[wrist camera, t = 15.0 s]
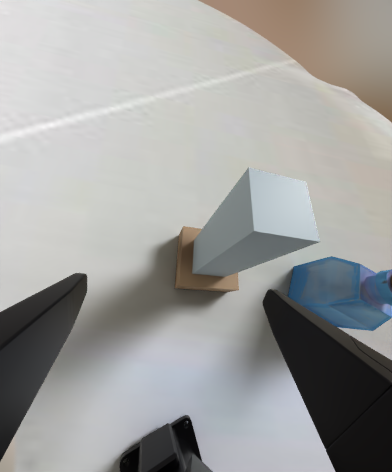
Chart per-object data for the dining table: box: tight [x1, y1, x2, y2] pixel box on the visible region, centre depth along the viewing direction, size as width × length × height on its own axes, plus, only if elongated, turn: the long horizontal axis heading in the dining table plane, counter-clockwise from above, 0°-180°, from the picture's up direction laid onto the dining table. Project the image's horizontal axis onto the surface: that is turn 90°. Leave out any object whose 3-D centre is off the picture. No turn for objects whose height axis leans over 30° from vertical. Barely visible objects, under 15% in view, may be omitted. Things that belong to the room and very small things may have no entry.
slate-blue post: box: [192, 168, 320, 277], centre depth 16 cm, size 4×4×12 cm
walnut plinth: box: [175, 226, 239, 292], centre depth 23 cm, size 7×7×3 cm
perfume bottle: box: [288, 256, 392, 331], centre depth 21 cm, size 6×6×12 cm
